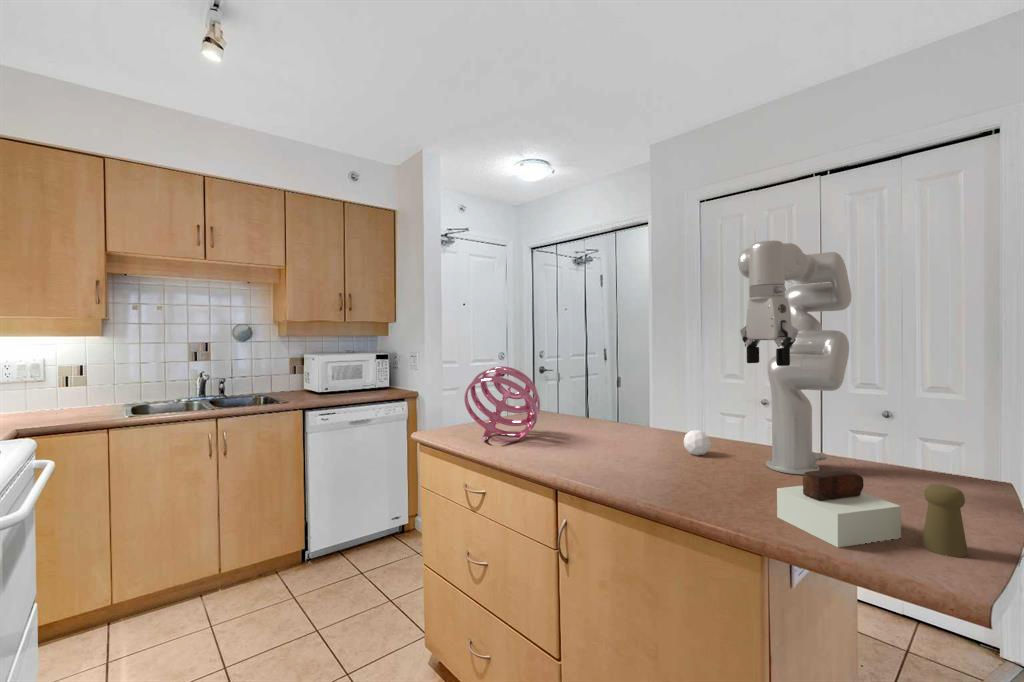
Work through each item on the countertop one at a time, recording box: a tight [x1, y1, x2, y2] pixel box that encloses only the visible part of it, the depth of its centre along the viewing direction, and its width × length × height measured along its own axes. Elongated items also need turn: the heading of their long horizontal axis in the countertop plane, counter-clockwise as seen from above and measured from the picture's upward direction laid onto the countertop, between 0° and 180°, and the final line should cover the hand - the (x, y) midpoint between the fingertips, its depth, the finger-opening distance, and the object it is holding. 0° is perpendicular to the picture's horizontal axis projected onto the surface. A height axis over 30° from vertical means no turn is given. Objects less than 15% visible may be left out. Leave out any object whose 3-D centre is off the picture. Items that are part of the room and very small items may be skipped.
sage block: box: [776, 485, 902, 548], centre depth 91 cm, size 14×14×6 cm
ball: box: [683, 429, 712, 456], centre depth 145 cm, size 8×8×8 cm
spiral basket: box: [464, 366, 541, 443], centre depth 170 cm, size 28×28×27 cm
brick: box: [802, 468, 864, 501], centre depth 91 cm, size 11×4×5 cm, turn 104°
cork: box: [920, 483, 969, 558], centre depth 81 cm, size 6×6×11 cm
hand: (767, 364), depth 113 cm, fingers open, 9 cm apart
